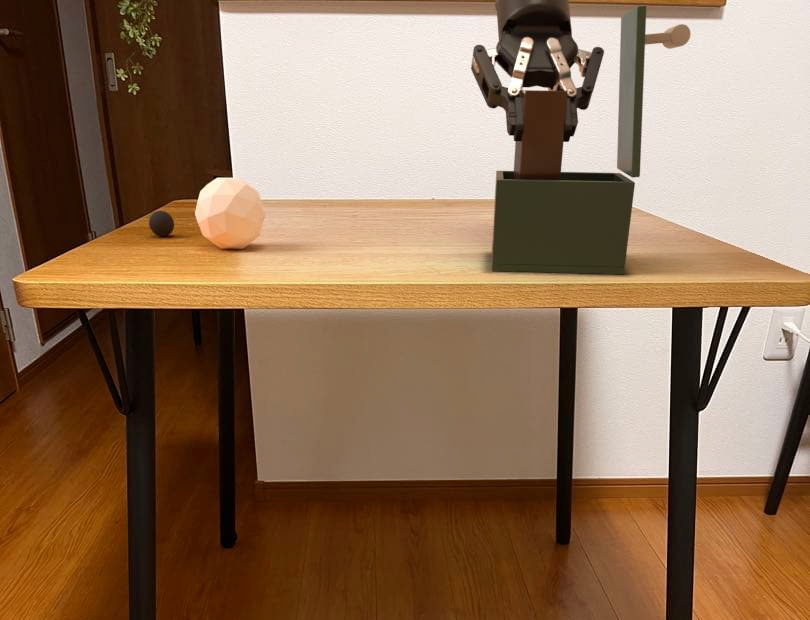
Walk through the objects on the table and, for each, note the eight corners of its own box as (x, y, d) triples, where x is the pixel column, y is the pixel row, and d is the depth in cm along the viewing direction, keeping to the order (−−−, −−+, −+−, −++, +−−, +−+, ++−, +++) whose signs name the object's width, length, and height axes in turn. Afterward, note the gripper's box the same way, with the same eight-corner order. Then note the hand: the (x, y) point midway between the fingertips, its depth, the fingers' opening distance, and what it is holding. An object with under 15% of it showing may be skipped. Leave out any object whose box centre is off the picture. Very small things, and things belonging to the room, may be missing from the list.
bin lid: (637, 6, 78) (699, -1, 78) (621, 15, 89) (675, 10, 88) (631, 177, 85) (688, 173, 84) (616, 168, 95) (668, 164, 94)
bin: (491, 270, 90) (496, 179, 86) (491, 252, 100) (496, 170, 96) (624, 274, 89) (635, 182, 85) (610, 255, 99) (620, 172, 95)
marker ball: (180, 236, 109) (177, 210, 108) (161, 239, 107) (158, 212, 106) (164, 233, 111) (161, 208, 109) (145, 236, 108) (142, 210, 107)
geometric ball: (252, 272, 103) (284, 217, 98) (188, 252, 98) (218, 193, 93) (240, 231, 106) (270, 176, 102) (178, 209, 102) (206, 151, 97)
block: (551, 185, 93) (559, 90, 89) (559, 189, 90) (568, 90, 85) (512, 185, 93) (518, 90, 89) (518, 189, 89) (525, 90, 85)
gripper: (468, -31, 89) (476, 105, 83) (608, -28, 89) (624, 107, 84) (461, 33, 96) (468, 162, 91) (590, 35, 96) (604, 163, 91)
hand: (543, 134), depth 87 cm, fingers closed on block, 4 cm apart
